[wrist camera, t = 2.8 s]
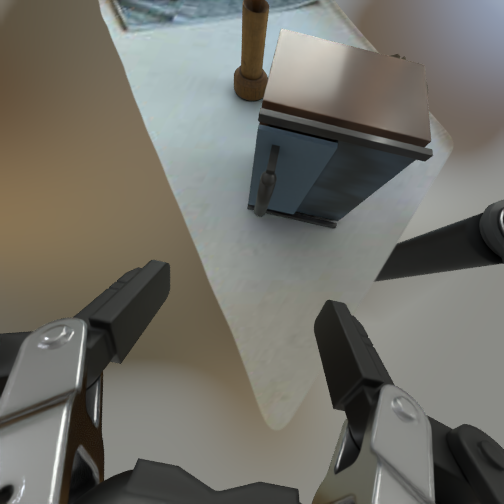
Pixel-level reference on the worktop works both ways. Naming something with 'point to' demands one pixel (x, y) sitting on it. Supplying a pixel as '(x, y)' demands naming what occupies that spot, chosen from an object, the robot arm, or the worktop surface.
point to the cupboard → (347, 117)
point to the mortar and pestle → (252, 51)
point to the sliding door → (285, 168)
